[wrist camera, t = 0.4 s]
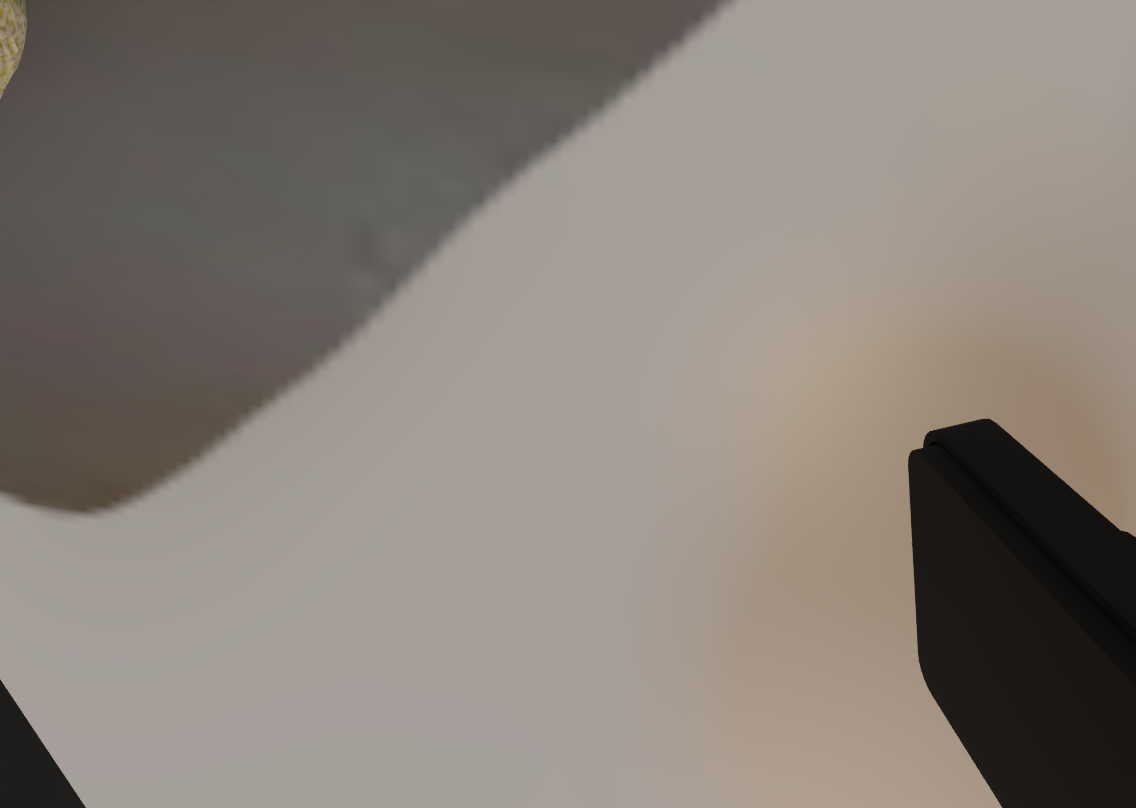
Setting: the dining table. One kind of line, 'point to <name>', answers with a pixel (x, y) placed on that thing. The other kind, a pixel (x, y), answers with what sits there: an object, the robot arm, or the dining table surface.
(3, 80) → the cantaloupe
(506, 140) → the dining table surface
